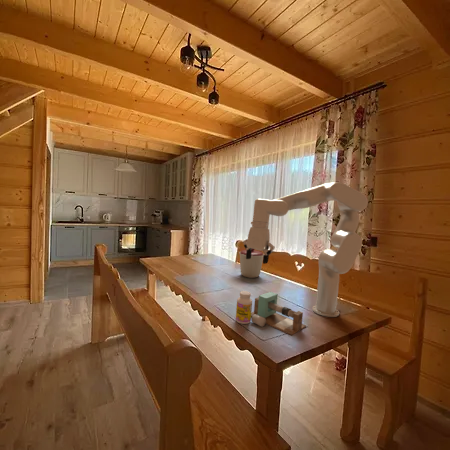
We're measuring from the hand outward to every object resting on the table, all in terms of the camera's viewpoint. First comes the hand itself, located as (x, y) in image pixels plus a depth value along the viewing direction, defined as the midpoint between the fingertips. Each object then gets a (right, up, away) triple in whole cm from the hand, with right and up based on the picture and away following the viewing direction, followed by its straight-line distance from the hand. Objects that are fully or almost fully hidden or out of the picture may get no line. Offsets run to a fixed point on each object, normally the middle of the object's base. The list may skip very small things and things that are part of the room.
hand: (256, 261), depth 123 cm
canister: (+3, -20, +63) cm, 66 cm away
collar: (+4, -24, -3) cm, 25 cm away
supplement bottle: (-7, -25, -9) cm, 28 cm away
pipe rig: (+8, -26, -7) cm, 28 cm away
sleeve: (-1, -26, -11) cm, 28 cm away
